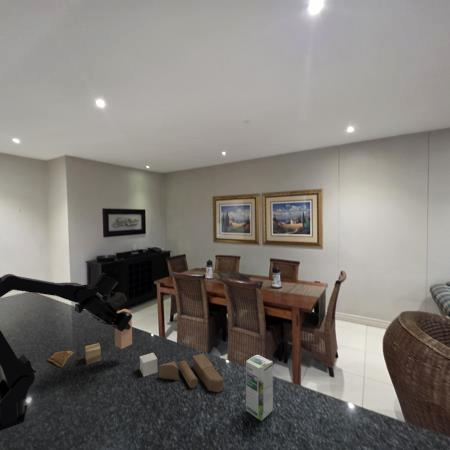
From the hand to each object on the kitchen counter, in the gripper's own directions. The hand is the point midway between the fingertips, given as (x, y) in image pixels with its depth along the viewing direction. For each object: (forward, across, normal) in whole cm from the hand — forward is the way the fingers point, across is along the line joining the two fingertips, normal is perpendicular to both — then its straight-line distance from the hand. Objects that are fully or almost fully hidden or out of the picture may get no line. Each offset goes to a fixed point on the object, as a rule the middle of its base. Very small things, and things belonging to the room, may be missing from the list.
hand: (126, 326), depth 98 cm
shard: (0, +22, +20) cm, 30 cm away
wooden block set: (+13, -30, +7) cm, 33 cm away
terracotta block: (+4, 0, +6) cm, 7 cm away
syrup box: (+15, -55, +4) cm, 57 cm away
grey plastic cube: (+10, -13, +9) cm, 19 cm away
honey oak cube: (+4, +12, +15) cm, 20 cm away
